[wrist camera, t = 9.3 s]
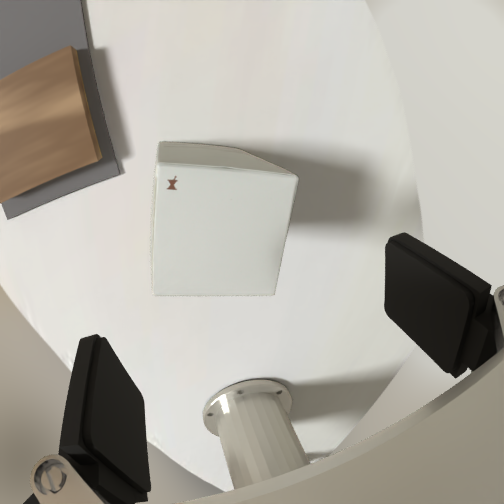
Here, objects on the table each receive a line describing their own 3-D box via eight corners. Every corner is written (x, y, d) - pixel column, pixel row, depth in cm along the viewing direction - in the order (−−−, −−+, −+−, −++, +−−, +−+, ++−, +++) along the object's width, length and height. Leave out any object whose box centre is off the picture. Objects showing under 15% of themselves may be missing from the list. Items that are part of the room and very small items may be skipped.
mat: (120, 173, 25) (119, 174, 25) (9, 218, 23) (7, 219, 23) (75, -55, 14) (74, -57, 14) (-32, 1, 12) (-34, 1, 12)
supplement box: (150, 223, 28) (146, 298, 16) (157, 139, 25) (154, 157, 14) (230, 227, 30) (276, 300, 19) (243, 148, 27) (302, 173, 16)
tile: (76, 49, 19) (102, 157, 24) (-18, 98, 18) (8, 198, 22) (70, 45, 17) (98, 161, 22) (-29, 98, 16) (-1, 204, 20)
